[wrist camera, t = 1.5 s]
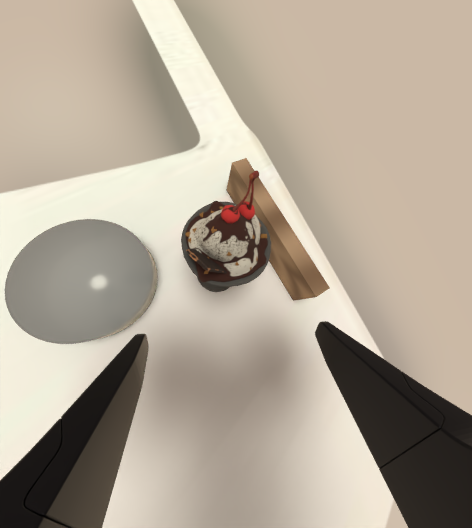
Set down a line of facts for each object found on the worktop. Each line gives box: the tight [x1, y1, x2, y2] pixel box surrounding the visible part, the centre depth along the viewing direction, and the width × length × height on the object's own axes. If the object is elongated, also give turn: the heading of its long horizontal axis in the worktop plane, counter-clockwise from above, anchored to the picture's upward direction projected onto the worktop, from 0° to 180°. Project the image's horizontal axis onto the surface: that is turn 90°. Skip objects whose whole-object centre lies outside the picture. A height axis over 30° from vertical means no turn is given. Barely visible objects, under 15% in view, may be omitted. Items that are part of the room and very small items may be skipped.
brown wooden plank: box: [227, 158, 329, 300], centre depth 23 cm, size 18×2×5 cm, turn 30°
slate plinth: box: [5, 219, 157, 344], centre depth 19 cm, size 12×12×3 cm
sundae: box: [181, 171, 271, 292], centre depth 16 cm, size 7×7×15 cm
